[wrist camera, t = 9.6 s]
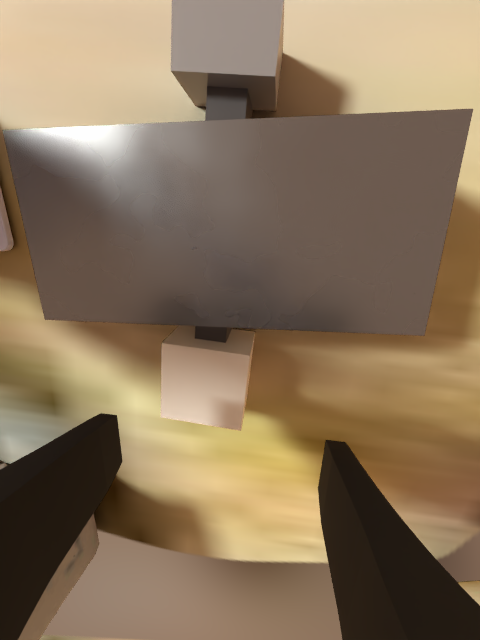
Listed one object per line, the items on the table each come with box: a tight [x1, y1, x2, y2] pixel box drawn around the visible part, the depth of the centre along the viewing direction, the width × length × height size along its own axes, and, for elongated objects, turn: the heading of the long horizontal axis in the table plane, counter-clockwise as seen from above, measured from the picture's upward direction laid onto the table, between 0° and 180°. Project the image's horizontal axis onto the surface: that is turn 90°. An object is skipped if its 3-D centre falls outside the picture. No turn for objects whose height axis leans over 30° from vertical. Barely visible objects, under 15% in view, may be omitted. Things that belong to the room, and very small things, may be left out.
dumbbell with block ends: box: [161, 0, 284, 431], centre depth 13 cm, size 4×16×3 cm, turn 175°
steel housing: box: [2, 109, 473, 336], centre depth 11 cm, size 13×6×5 cm, turn 90°
